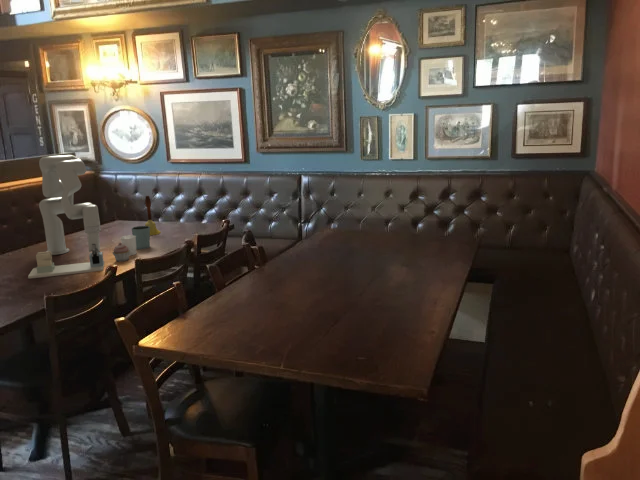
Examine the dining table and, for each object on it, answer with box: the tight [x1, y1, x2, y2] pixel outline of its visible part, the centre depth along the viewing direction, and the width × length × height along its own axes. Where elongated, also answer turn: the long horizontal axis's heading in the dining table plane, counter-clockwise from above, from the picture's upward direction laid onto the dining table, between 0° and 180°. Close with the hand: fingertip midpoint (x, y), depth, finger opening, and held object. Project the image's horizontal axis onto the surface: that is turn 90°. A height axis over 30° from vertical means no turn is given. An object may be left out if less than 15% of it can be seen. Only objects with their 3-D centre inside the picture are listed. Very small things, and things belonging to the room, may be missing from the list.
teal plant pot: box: [131, 225, 151, 250], centre depth 316 cm, size 10×10×12 cm
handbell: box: [144, 195, 162, 237], centre depth 350 cm, size 12×12×25 cm
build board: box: [27, 261, 105, 279], centre depth 273 cm, size 15×34×4 cm, turn 109°
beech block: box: [35, 251, 53, 267], centre depth 269 cm, size 6×6×6 cm
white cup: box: [120, 234, 137, 257], centre depth 301 cm, size 8×8×10 cm
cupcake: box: [111, 242, 130, 263], centre depth 289 cm, size 9×9×10 cm
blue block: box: [88, 251, 105, 267], centre depth 277 cm, size 6×6×6 cm
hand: (96, 261), depth 277 cm, fingers open, 9 cm apart
